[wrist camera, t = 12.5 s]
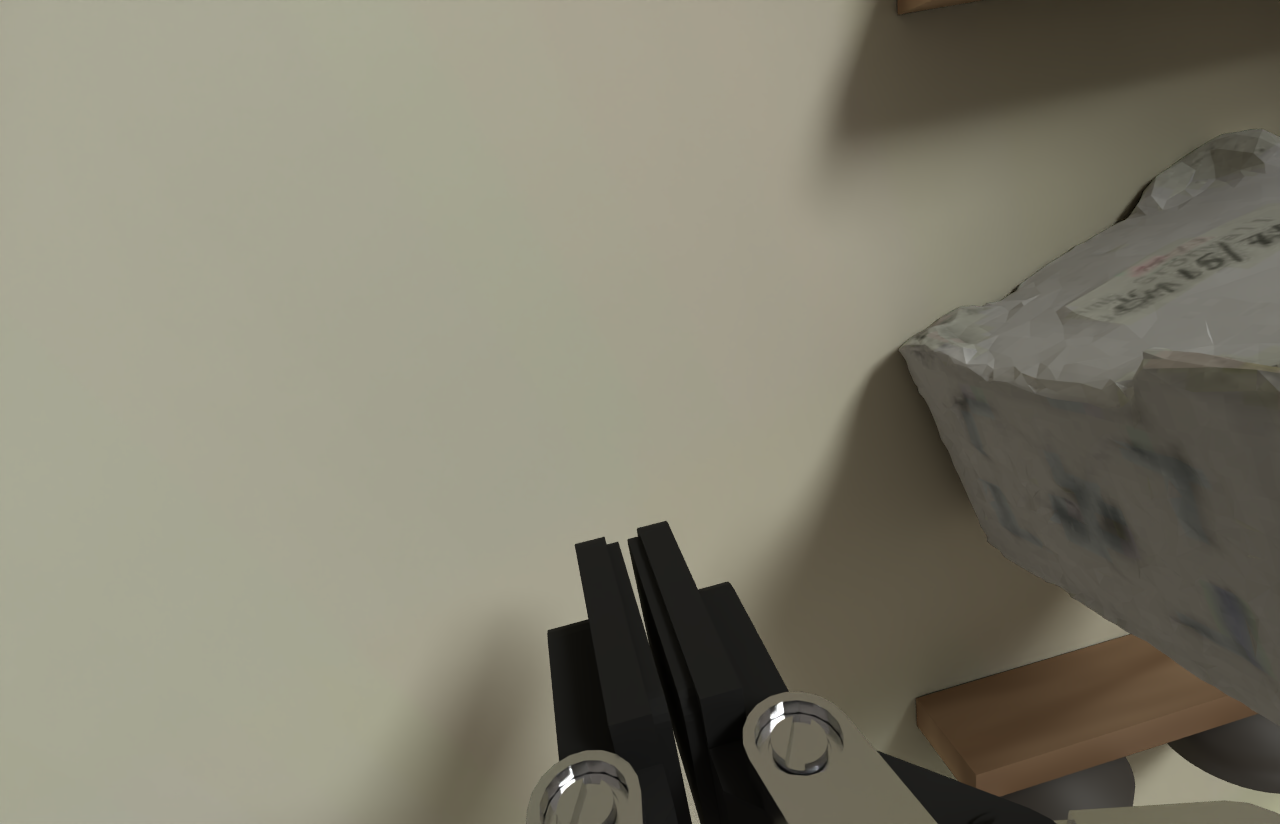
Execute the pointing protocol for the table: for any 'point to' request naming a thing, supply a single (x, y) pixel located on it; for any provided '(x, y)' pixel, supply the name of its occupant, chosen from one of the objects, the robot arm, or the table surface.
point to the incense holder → (1139, 417)
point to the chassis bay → (1091, 717)
